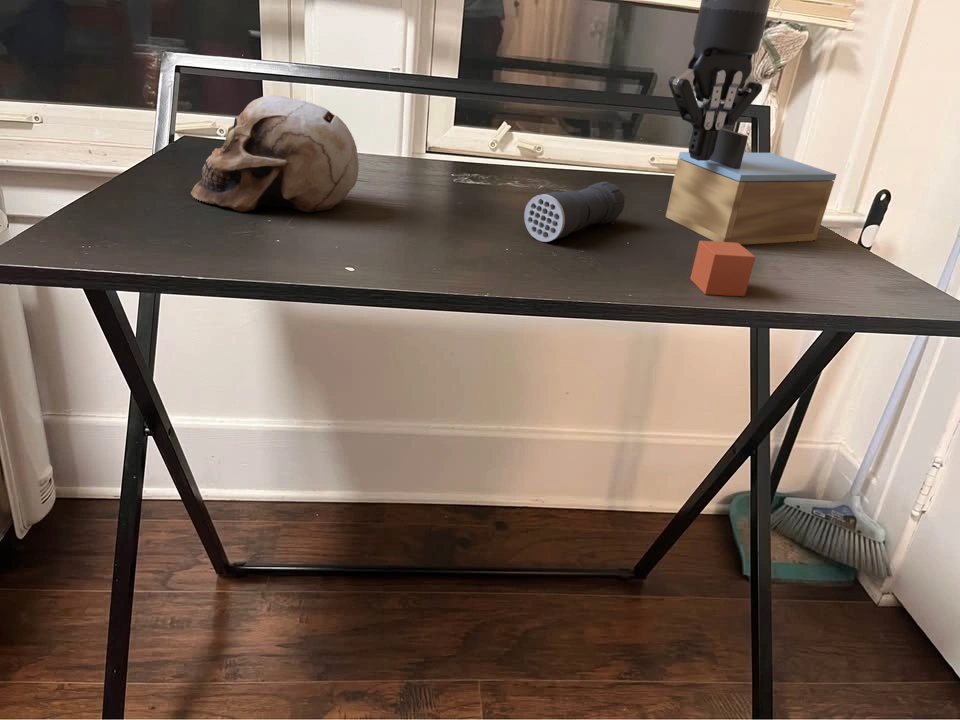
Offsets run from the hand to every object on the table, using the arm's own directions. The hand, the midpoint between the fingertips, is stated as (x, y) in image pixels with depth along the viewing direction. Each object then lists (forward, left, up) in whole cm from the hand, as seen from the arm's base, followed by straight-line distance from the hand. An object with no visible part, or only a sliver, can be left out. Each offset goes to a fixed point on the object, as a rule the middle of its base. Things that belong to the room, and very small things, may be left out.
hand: (699, 159), depth 93 cm
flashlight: (+2, +15, -10) cm, 18 cm away
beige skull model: (+17, +49, -10) cm, 53 cm away
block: (-18, +9, -9) cm, 22 cm away
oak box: (0, -10, -9) cm, 14 cm away
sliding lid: (0, -10, -1) cm, 10 cm away
